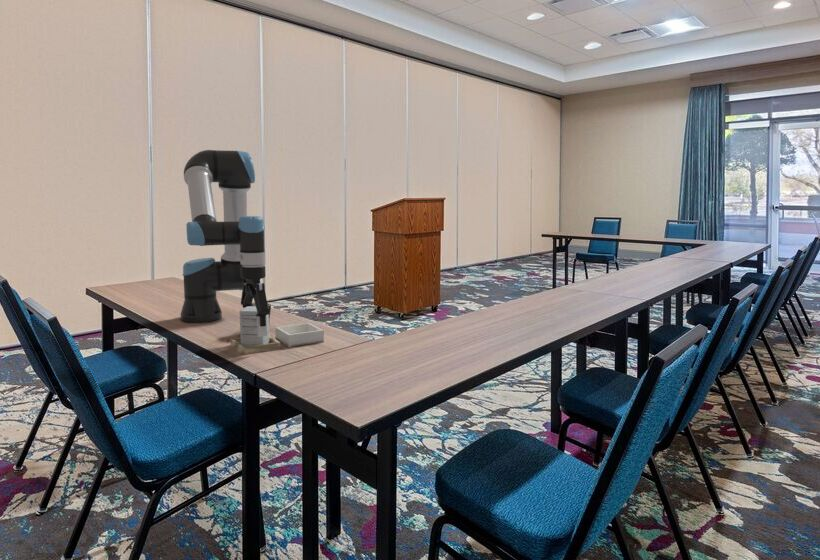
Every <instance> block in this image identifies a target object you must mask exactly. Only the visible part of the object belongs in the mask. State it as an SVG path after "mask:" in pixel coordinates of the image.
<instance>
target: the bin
mask: <svg viewBox="0 0 820 560" xmlns="http://www.w3.org/2000/svg"><path fill="white" fill-rule="evenodd" d="M274 328H275V330H274V332H275V334H274V335H275V339H276V340H277V341H278V340H279V342H281V343H282V344H283V345H284V346H286V347H288V348H292V347H293V348H294V347H299V345H300V346H306V344H307V345H312V344H313V345H314V344H319V343H324V341H325V330H324V329H322V328H320V327H318V326H317V325H314V324H312V323H310V322H304V323H299V324H298V323H297V324H290V325H289V324H288V325H282V326H275V327H274Z"/></svg>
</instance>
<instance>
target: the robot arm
mask: <svg viewBox="0 0 820 560" xmlns="http://www.w3.org/2000/svg"><path fill="white" fill-rule="evenodd" d="M183 179H184V183H185V184H186V185H187V189H188V190H187V191H188V197H189V198H188V199H189V207H190V208H189V209H190V215H191V221H189V222H187V223H186V227H185V228H186V240H187V244H188V245H190V246H200V247H204V246H206V247H207V246H224V253H223V254H221V256H220V260H219V261H216V259H215V258H214V257H204V258H203V257H202V258H197V259H191V260H189V261H186V262H185V263H184V264H183V266H182V276H183V294H184V296H183V297H184V301H183V304H182V307H181V311H180V321H182V322H185V323H207V322H214V321H218V320H220V319H222V318H223V311H222V309H221V306H220V304H219V303H220V302H218V298H217V292H221V291H222V292H223V291H237V290H238V291H239V290H240V291H241V298H240V305H241V306H242V309H244V308H245V307H247V306H253V304H252V303H255V305H256V309H257V313H258V314H256V317H257V334H258V337H262V336H267V321H266V315H268V314H269V309H268V304H267V303H268V300H267V299H268V298H267V295H266V289H265V288H266V286H265V285H266V284H265V283H264V282H261V279H265V278H266V266H265V264H266V251H265V223H264V222H265V221H264V218H263V217H262V216H260V215H259V216H258V215H257V216H256V215H248V202H247V201H248V197H247V192H248V191H249V190H250V189H251V188H252V185H251V184H255V182H256V173H255V166H254V162H253V158H252V155H251V154H250V152H247V151H241V150H220V149H219V150H215V149H213V150H212V149H206V150H204V149H203V150H201V151H199V152H197V153H195V154H194V155H193V156H191V157H190V158H189V159H188V160H187V162H186V164H185V166H184V169H183ZM213 183H218V188H219V189H220V190H221V191H222V198H223V201H222V202H223V204H222V205H223V221H217V215H216V208H215V202H214V197H213V196H214V194H213V189H212V184H213Z"/></svg>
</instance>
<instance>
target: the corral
mask: <svg viewBox="0 0 820 560" xmlns="http://www.w3.org/2000/svg"><path fill="white" fill-rule="evenodd" d="M269 338H270V343H269V344H262V345H255V346H248V347H243V346H242V345H241V337H237V338H230V345H231V347H232V348H234V349H235V350H237V352H239V354H240V355H241V354H242V355H246V354H254V353H260V352H268V351H274V350H273V349H275V350H281V349H282V346H281V343H282V342H280V341H278V340H277V339H276V338H274V337H273V336H271V335H270V334H269ZM280 348H281V349H280Z"/></svg>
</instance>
